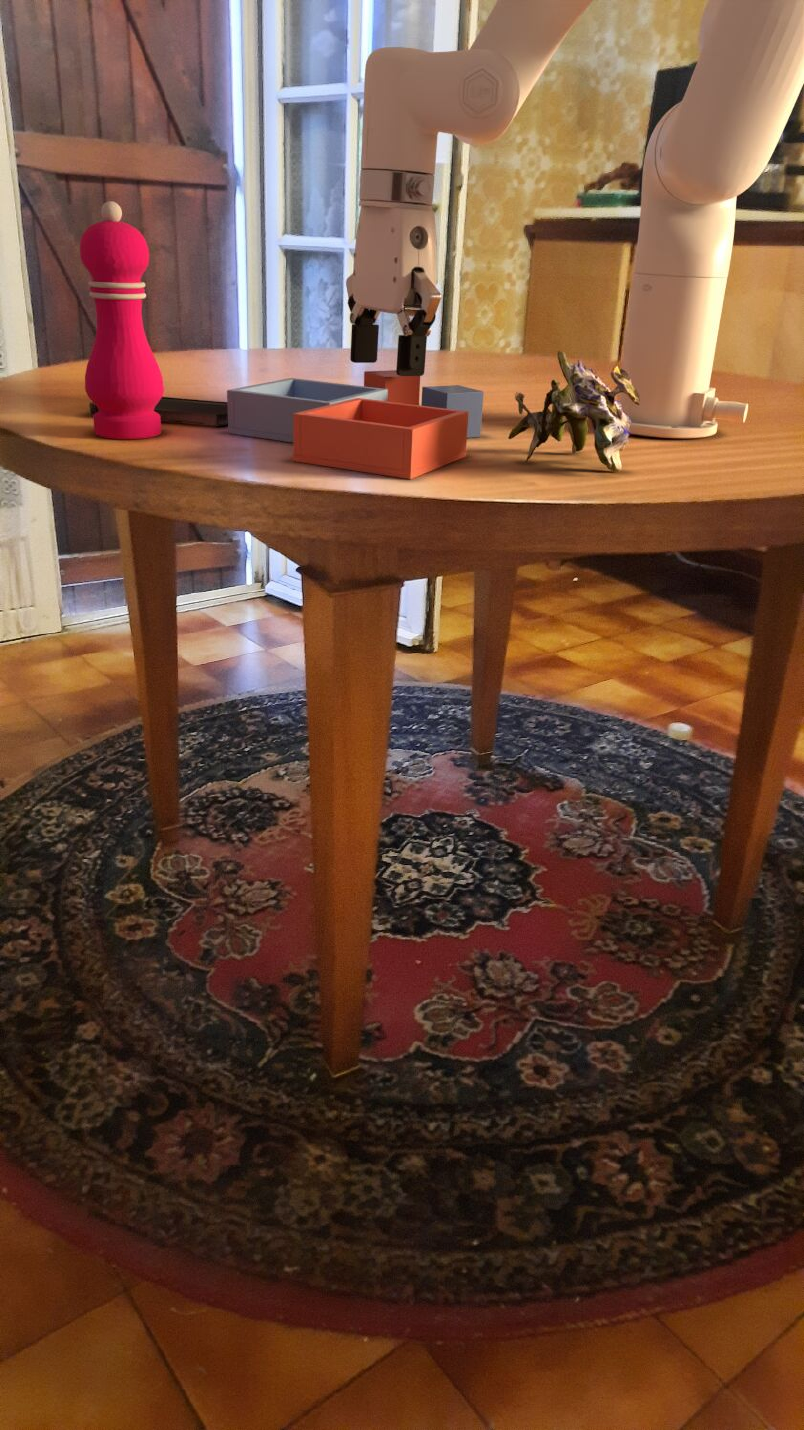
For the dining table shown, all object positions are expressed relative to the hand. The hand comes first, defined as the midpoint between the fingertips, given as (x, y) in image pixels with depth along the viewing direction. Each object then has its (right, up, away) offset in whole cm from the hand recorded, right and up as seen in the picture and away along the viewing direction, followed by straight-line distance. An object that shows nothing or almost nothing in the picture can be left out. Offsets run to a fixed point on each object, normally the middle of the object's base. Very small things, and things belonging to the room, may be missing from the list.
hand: (386, 368), depth 111 cm
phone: (-23, -6, -4) cm, 24 cm away
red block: (+1, -4, +2) cm, 5 cm away
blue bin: (-8, -9, -8) cm, 15 cm away
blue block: (+7, -9, -7) cm, 13 cm away
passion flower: (+17, -15, -18) cm, 29 cm away
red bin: (0, -15, -19) cm, 24 cm away
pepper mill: (-25, -11, -13) cm, 30 cm away
